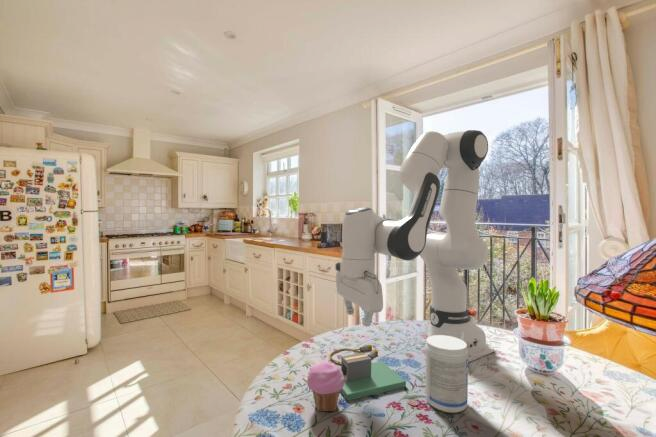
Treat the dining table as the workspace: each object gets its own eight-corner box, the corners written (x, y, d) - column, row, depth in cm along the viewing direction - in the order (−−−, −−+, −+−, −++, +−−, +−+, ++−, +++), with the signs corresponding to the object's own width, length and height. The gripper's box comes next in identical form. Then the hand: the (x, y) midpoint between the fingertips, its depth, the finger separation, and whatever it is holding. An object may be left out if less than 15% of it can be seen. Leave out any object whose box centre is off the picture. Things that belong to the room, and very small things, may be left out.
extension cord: (383, 366, 95) (383, 360, 95) (331, 368, 93) (331, 361, 93) (374, 349, 107) (374, 343, 107) (327, 350, 105) (327, 344, 105)
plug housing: (363, 370, 88) (364, 352, 88) (371, 377, 85) (371, 358, 85) (341, 374, 86) (341, 356, 86) (347, 382, 82) (347, 362, 82)
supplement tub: (476, 412, 73) (477, 348, 73) (439, 417, 71) (440, 352, 70) (450, 389, 82) (452, 333, 82) (417, 393, 80) (418, 335, 80)
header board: (381, 366, 94) (381, 351, 94) (405, 386, 83) (406, 369, 83) (328, 376, 88) (328, 360, 88) (347, 400, 77) (347, 382, 76)
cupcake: (346, 418, 70) (347, 373, 70) (307, 419, 69) (308, 374, 69) (341, 394, 79) (342, 355, 79) (306, 396, 78) (307, 356, 78)
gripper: (389, 274, 76) (389, 331, 77) (351, 261, 95) (351, 307, 96) (366, 276, 74) (366, 335, 74) (332, 263, 93) (332, 309, 93)
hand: (357, 319), depth 85 cm, fingers open, 8 cm apart
